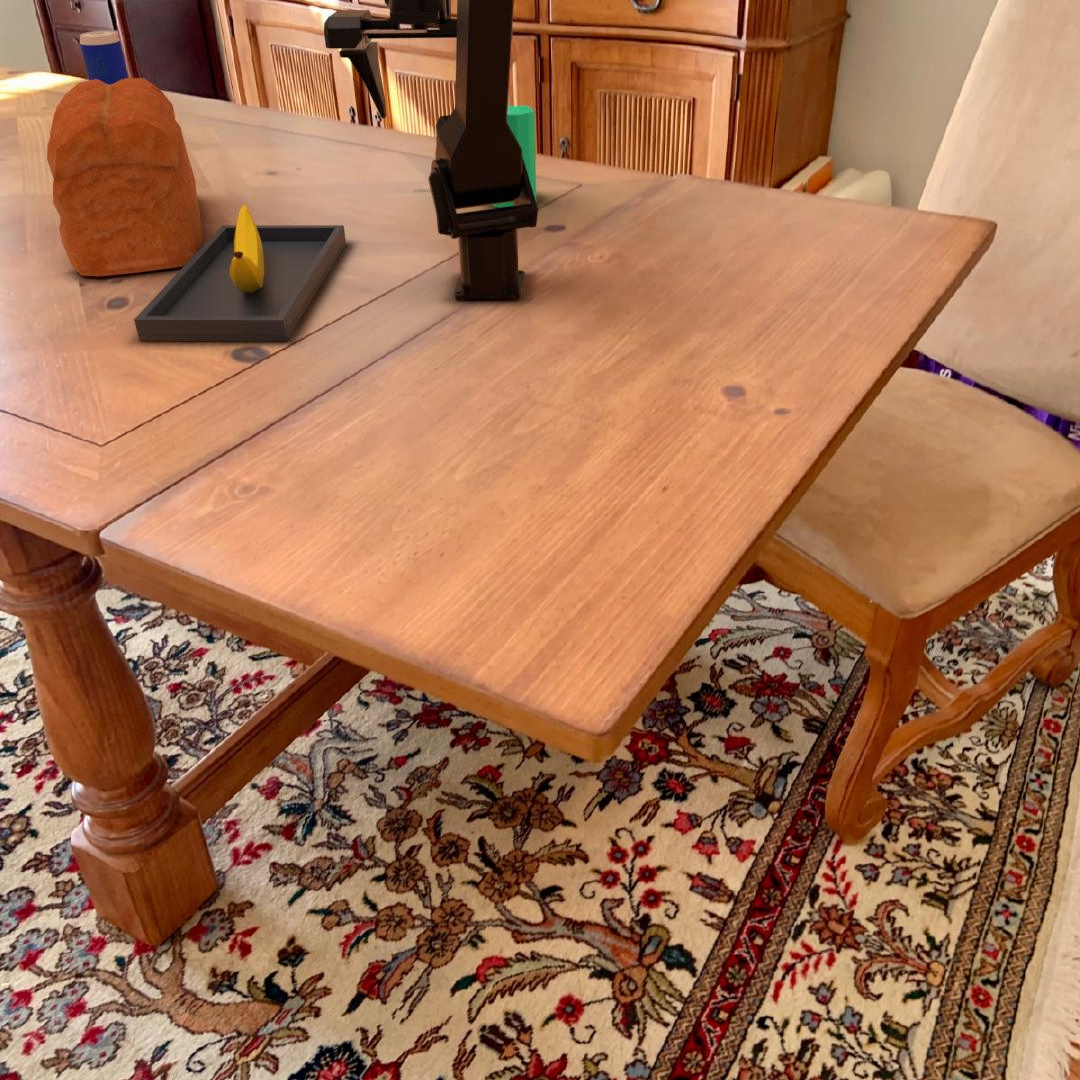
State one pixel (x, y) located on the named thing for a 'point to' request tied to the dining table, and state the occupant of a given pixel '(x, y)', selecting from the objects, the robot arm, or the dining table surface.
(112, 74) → the beverage can
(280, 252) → the tray
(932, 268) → the dining table surface
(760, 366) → the dining table surface
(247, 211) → the banana
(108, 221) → the bread
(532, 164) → the candle
